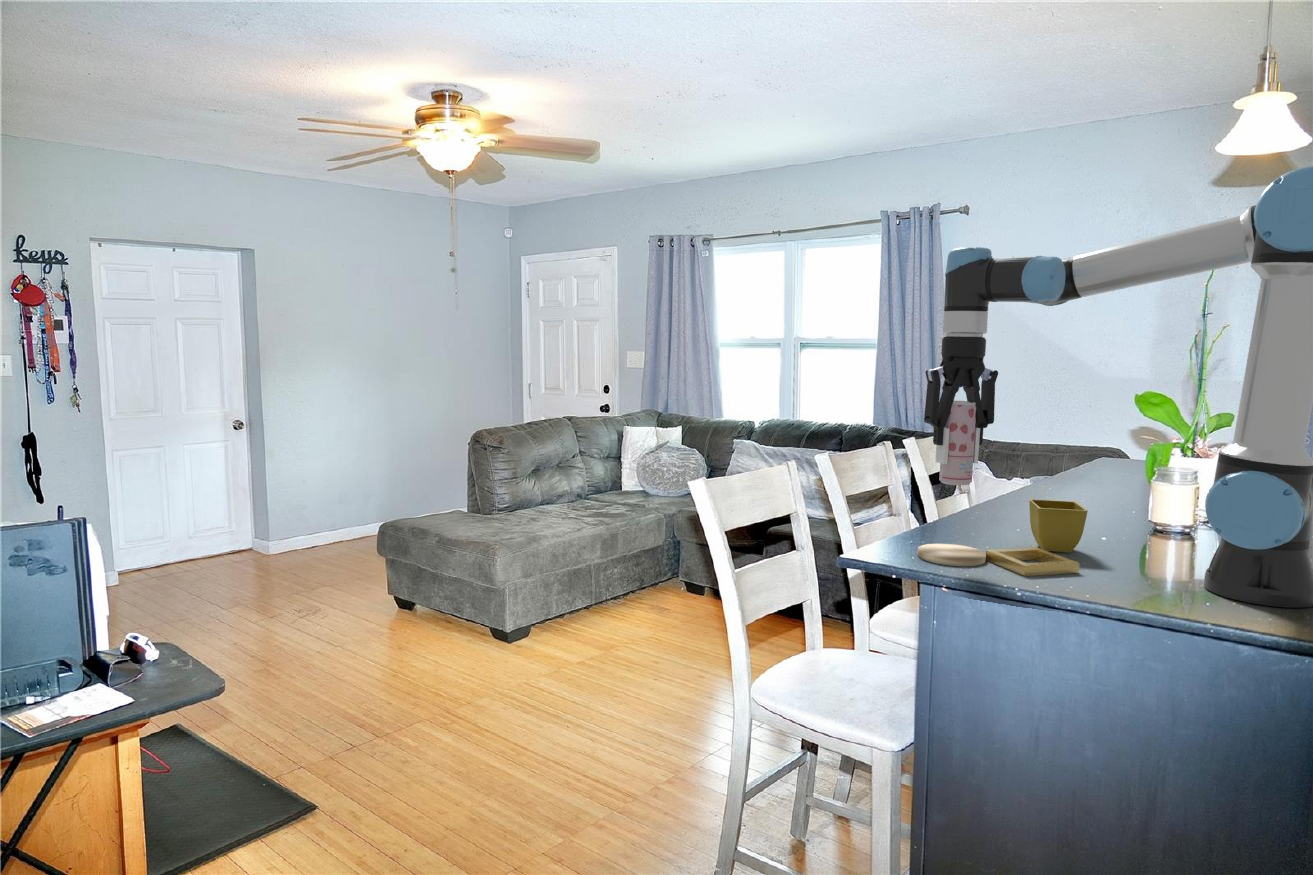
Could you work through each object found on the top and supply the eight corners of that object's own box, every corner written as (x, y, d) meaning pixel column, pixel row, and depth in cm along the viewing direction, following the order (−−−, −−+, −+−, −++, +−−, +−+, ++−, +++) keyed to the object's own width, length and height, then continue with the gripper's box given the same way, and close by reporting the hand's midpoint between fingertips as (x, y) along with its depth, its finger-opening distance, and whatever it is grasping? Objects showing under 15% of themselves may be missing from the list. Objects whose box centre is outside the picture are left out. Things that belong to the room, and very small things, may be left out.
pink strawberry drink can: (962, 486, 153) (968, 403, 151) (933, 482, 157) (938, 401, 155) (977, 483, 157) (982, 402, 155) (948, 479, 161) (952, 400, 159)
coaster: (999, 564, 154) (999, 558, 154) (940, 567, 151) (940, 561, 151) (960, 548, 166) (961, 542, 166) (905, 551, 163) (905, 544, 163)
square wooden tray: (1078, 572, 150) (1079, 562, 149) (1024, 576, 147) (1024, 565, 147) (1036, 557, 160) (1037, 547, 160) (985, 559, 158) (985, 550, 157)
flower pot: (1085, 556, 161) (1088, 510, 160) (1035, 553, 163) (1039, 507, 162) (1072, 545, 170) (1075, 501, 169) (1025, 543, 171) (1028, 499, 170)
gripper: (996, 336, 160) (988, 458, 162) (907, 334, 155) (900, 460, 158) (1022, 336, 152) (1013, 464, 155) (929, 334, 148) (922, 466, 151)
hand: (956, 462), depth 157 cm, fingers closed on pink strawberry drink can, 6 cm apart
